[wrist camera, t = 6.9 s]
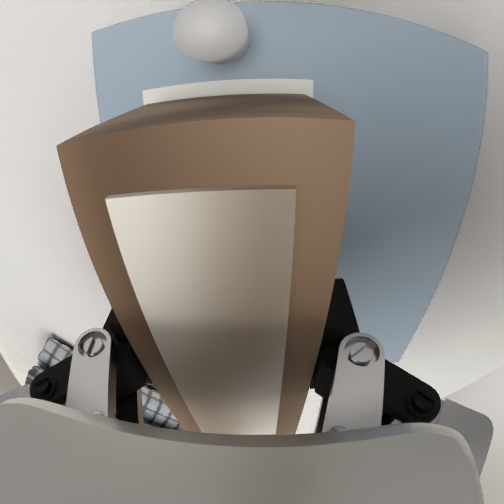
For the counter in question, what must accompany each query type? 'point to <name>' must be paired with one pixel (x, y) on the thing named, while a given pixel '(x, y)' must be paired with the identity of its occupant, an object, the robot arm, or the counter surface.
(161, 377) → the frame
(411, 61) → the panel
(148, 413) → the towel
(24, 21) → the counter surface
